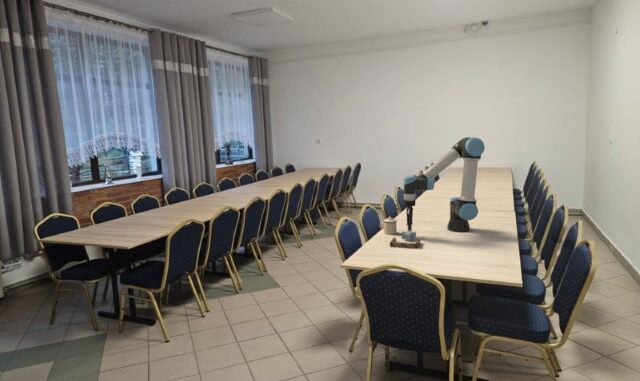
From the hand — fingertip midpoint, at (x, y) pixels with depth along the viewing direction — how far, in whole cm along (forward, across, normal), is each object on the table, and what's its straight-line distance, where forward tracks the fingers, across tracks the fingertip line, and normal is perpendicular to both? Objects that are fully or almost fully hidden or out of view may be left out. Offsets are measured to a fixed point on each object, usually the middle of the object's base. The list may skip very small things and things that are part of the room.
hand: (409, 234), depth 270 cm
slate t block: (+2, +8, 0) cm, 8 cm away
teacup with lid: (+2, -6, -16) cm, 17 cm away
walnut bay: (+2, +20, 0) cm, 20 cm away
